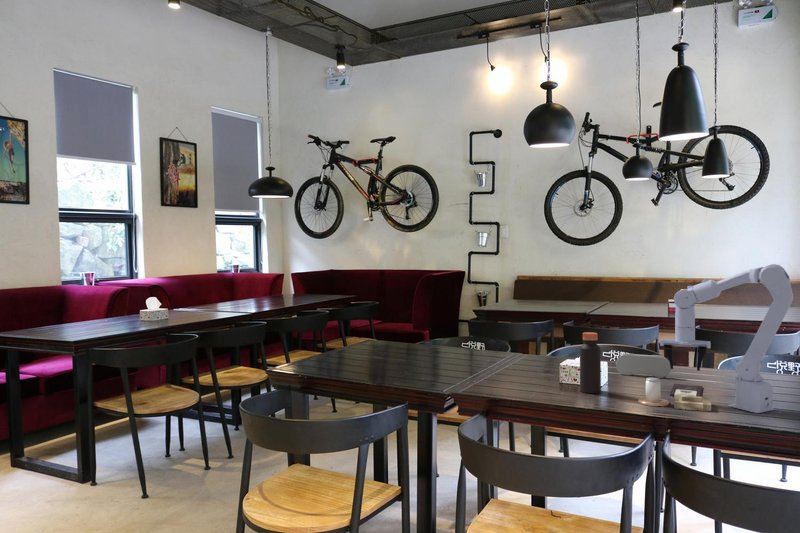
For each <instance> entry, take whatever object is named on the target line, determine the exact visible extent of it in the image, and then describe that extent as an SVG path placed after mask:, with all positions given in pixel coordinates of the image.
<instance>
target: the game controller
mask: <svg viewBox="0 0 800 533" xmlns="http://www.w3.org/2000/svg"><path fill="white" fill-rule="evenodd" d="M615 367H616V370H617V371H618V372H619V373H620V374H621V375H622V376H633V375H634V374H635V375H638V374H639V375H647V376H652V377H653V378H659V379H664V378H666V377H668V375H670V373H671V372H672V371H671V370H672V369H671V367H670V362H669V359H668V358H667V357H665V356H663V355H658V354H651V355H649V354H639V353H638V354H635V353H627V352H626V353H622V354H621V355H620V356H618V358H617V359H616V362H615Z"/></svg>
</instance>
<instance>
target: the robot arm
mask: <svg viewBox="0 0 800 533" xmlns="http://www.w3.org/2000/svg"><path fill="white" fill-rule="evenodd" d="M747 283H752V284H760V283H761V284H762V285H763V286H764V287H765V288H766V289H767V290H768V291H769V294H770V295H771V297H772V299H773V300H772V302H771V304H770V306H769V307H768V310H767V312H766V314H765V316H764V318H763V320H762V322H761V324H760V326H759V327H758V330H757V331H756V333H755V335H754V337H753V339H752V341H751V343H750V345H749V347H748V349H747V350H746V352H745V354H744V355H743V356H742V357H740V359H739V360H738V361H737V362H736V364H735V366H734V371H735V373H736V375H735V378H734V381H735V382H734V383H735V384H734V385H735V386H734V393H735V395H734V400H735V401H734V403H731V404H728V407H731V408H735V409H739V410H743V411H747V412H752V413H755V414H760V413H764V412H765V413H766V412H771V411H775V408H774V407H773V404H774V402H773V399H774V398H773V394H774V393H773V391H774V390H773V386H772V384H771V383H770V382H766V381H764V380H763V379H764V378H763V376H762V375H761V374H760V372H761V371H762V368H763V361H764V357H765V356H766V353H767V351H768V349H769V347H770V346H771V343H772V342H773V340H774V338H775V336H776V334H777V332H778V330H779V328H780V326H781V324H782V323H783V320H784V318H785V317H786V315H787V313H788V311H789V309H790V307H791V305H792V303H793V301H794V294H793V289H792V284H791V278H790V275H789V274H788V272H787V271H786V269H785V268H784V267H783V266H781V265H780V264H777V263H776V264H775V263H773V264H769V265H766V266H761V267H760V266H759V267H756V268H751V269H747V270H745V271H741V272H738V273H736V274H734V275H732V276H729V277H727V278H723V279H721V280H719V281H716V280H714V279H707V278H706V279H703V280H702V282H700V283H697V284H695V285H691V284H690V285H688V286H686V287H687V288H683V289H680V290H678V291H677V292H676V293H675V294H674V296H673V302H674V305H675V311H674V312H675V314H674V315H675V316H674V318H675V319H674V321H675V322H674V325H675V326H674V328H675V330H674V332H675V334H674V335H675V339H674V338H673V339H672V338H671V339H670V338H669V339H667V338H666V339H665V338H663V339H662V338H660V342H659V343H660V347H663V349H664V352H665V353H666V355H667V359H668V360H669V362H670V367H671V370H674V361H673V347H684V348H697V362H696V370H697V371H701V364H702V362H703V359H704V357H705V355H706V353H707V350H708V349H711V348H712V347H711V341H708V340H696V325H695V324H696V323H695V322H696V313H695V304H701V303H704V302H707V301H710V300H713V299H716V298H718V297H720V295H721V293H722V291H725V290H728V289H732V288H735V287H737V286H741V285H744V284H747Z"/></svg>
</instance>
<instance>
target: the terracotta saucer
mask: <svg viewBox="0 0 800 533" xmlns="http://www.w3.org/2000/svg"><path fill="white" fill-rule="evenodd" d="M637 403H638V404H641V405H643V406H647V405H648V407H657V406H661V407H666V406H669V404H670V401H669V400H667V399H664V398H661V402H658V403H652V402H647V401H646V397H639V398H638V399H637Z"/></svg>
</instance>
